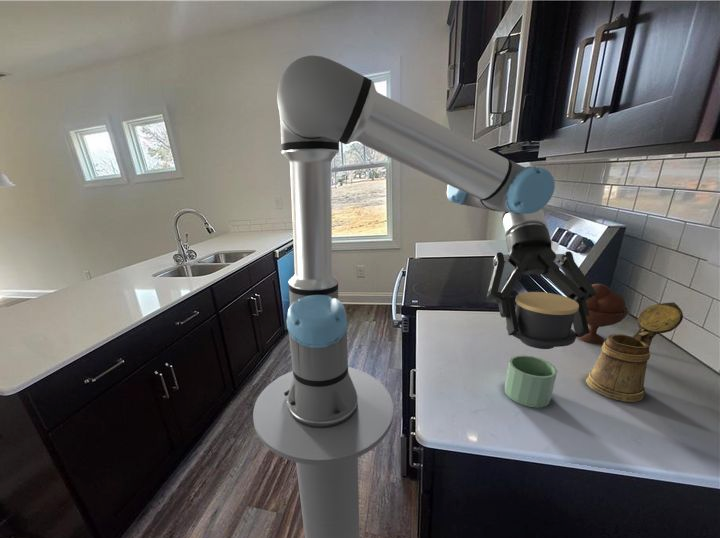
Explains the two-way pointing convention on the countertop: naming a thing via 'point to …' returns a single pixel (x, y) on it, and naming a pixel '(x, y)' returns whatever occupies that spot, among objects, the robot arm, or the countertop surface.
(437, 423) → the countertop surface
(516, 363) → the cup
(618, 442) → the countertop surface
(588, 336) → the ice cream bowl
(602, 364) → the wooden mug
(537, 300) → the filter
